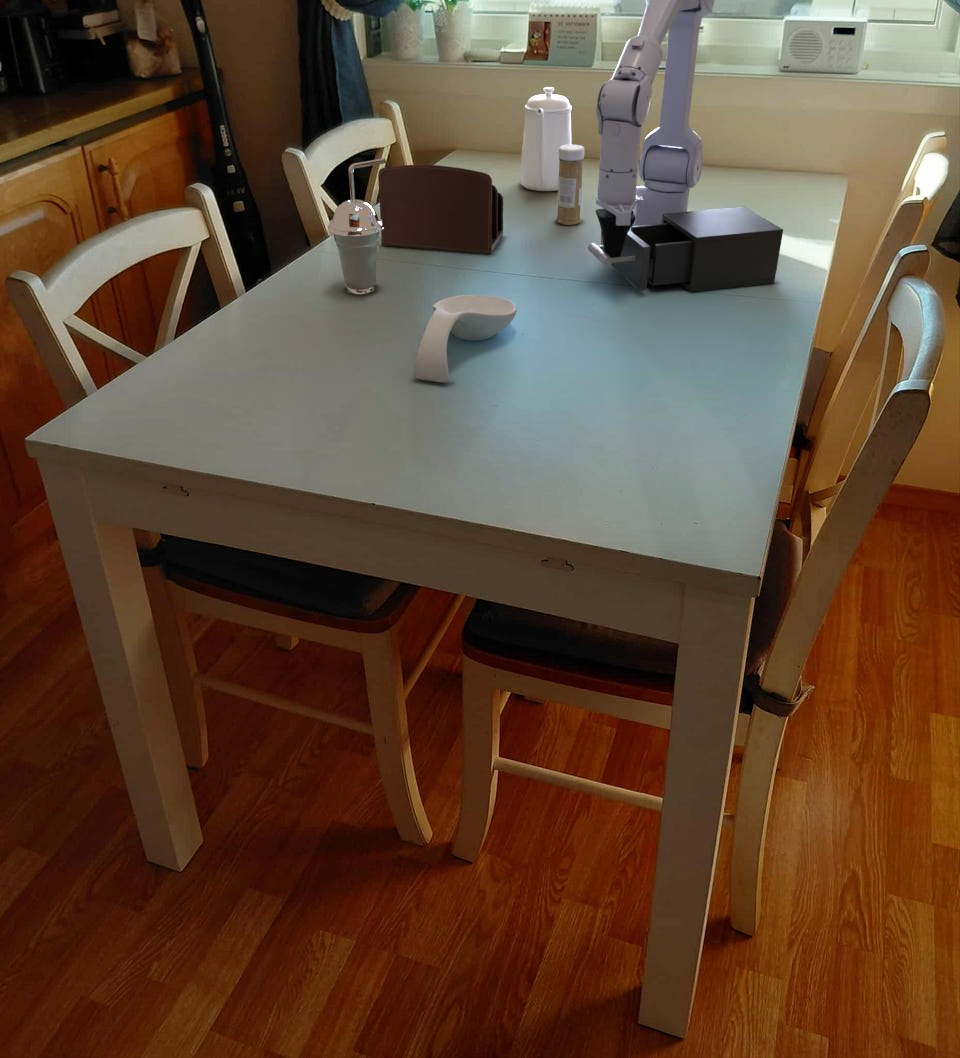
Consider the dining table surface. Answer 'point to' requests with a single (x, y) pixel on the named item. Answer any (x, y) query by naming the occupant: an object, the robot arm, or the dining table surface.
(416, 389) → the dining table surface
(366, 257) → the cup with straw
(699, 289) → the black drawer cabinet
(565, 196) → the spice jar
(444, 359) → the spoon rest
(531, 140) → the coffeepot
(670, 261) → the dark grey drawer
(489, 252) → the letter holder
